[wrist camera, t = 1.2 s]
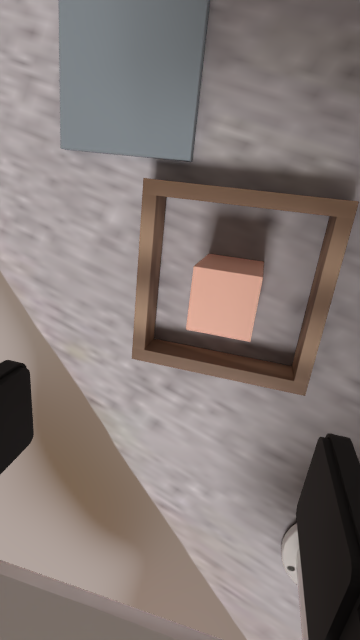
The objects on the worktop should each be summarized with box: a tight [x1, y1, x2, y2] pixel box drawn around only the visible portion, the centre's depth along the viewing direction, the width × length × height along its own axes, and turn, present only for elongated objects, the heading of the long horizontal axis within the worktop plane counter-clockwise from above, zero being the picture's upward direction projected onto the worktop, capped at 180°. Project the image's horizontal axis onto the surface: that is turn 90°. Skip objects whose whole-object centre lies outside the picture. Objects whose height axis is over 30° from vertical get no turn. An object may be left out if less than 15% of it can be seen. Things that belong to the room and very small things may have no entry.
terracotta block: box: [186, 254, 264, 342], centre depth 28 cm, size 5×5×7 cm
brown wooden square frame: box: [132, 178, 359, 396], centre depth 30 cm, size 16×16×3 cm
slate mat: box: [59, 0, 210, 162], centre depth 27 cm, size 12×12×1 cm
